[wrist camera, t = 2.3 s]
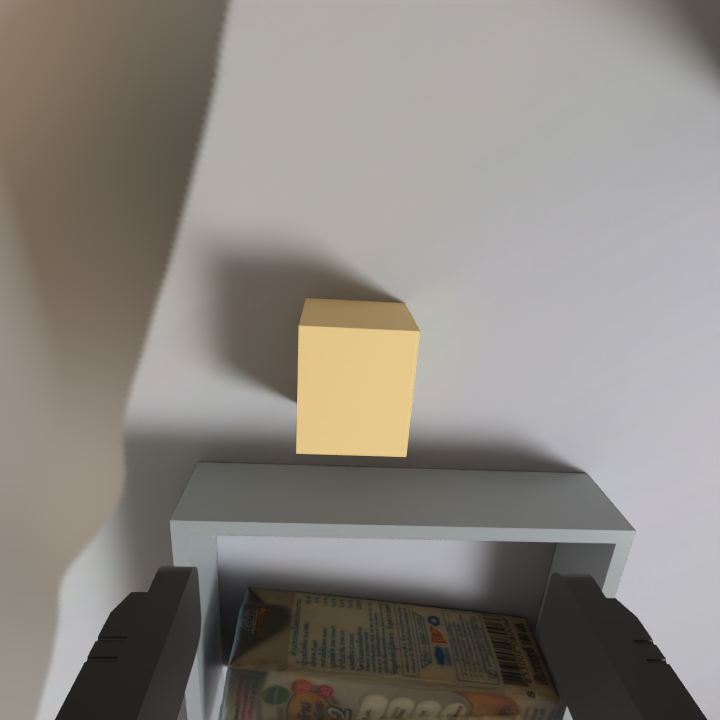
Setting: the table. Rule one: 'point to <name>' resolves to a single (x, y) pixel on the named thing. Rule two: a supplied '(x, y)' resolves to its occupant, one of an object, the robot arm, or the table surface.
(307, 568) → the table surface
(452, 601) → the table surface
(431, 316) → the table surface
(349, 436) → the yellow box
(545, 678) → the beverage carton
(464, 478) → the tote tray
